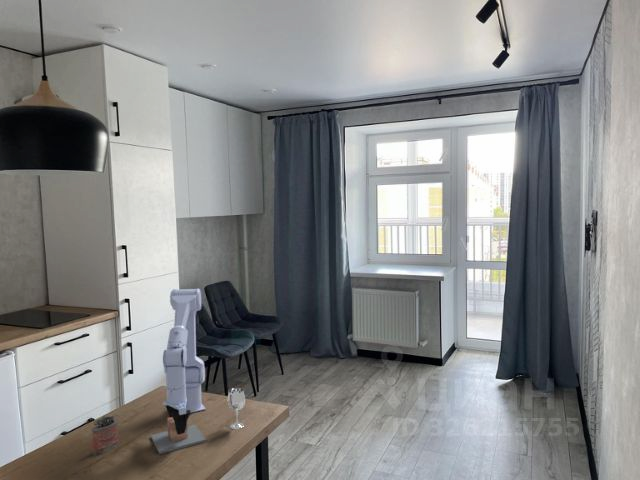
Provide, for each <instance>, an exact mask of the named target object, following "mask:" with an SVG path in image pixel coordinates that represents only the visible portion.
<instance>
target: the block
mask: <svg viewBox="0 0 640 480" xmlns="http://www.w3.org/2000/svg"><path fill="white" fill-rule="evenodd" d="M187 426H188V422H187V423H186V429H185V433H183V434H179V435H178V434H177V431H176V427H175V422H174V419H173V417H170V418H169V417H167V431H168V437H169V439H170V441H171V442H173V441H177V440H181V439H185V438H188V433H187Z"/></svg>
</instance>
